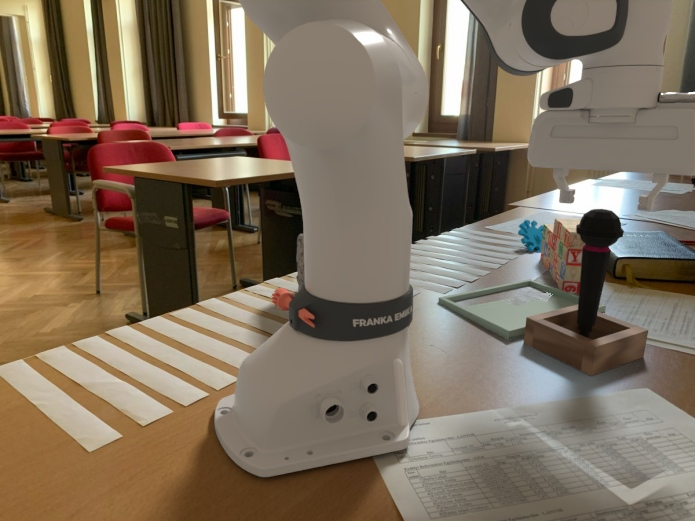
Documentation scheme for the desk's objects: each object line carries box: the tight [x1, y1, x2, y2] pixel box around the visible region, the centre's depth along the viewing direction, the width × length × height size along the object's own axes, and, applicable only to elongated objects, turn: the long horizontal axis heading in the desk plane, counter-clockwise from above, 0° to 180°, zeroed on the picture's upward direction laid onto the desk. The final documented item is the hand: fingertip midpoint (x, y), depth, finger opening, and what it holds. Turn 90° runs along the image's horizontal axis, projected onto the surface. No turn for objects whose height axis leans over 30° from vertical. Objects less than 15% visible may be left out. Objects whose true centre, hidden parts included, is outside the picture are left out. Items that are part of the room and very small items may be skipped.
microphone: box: [576, 208, 625, 338], centre depth 69 cm, size 6×6×20 cm
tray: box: [437, 278, 607, 341], centre depth 86 cm, size 22×16×2 cm
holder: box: [523, 304, 649, 377], centre depth 72 cm, size 11×11×4 cm
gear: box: [517, 219, 544, 254], centre depth 123 cm, size 11×6×10 cm
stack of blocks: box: [539, 217, 585, 295], centre depth 102 cm, size 21×6×12 cm, turn 171°
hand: (604, 206), depth 67 cm, fingers open, 8 cm apart
